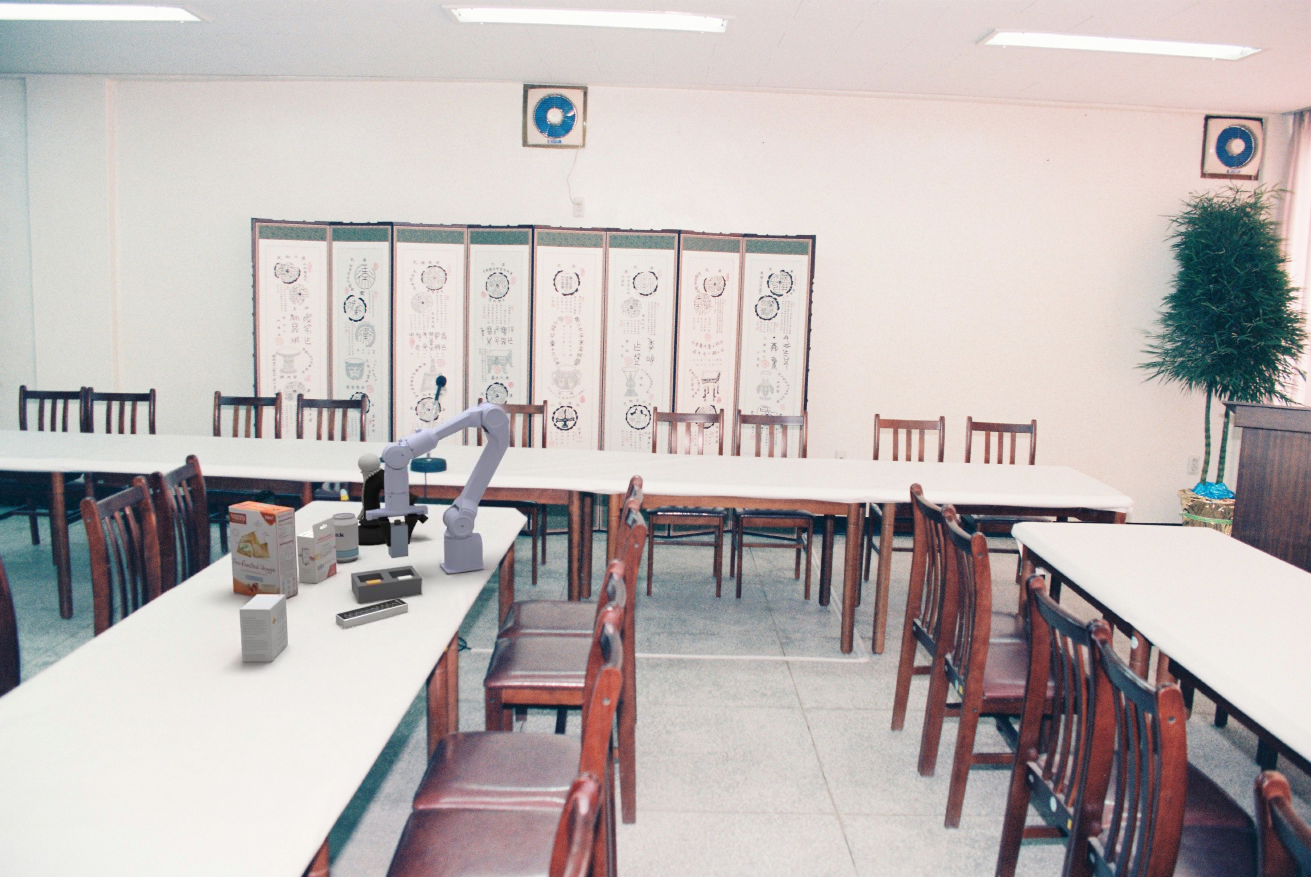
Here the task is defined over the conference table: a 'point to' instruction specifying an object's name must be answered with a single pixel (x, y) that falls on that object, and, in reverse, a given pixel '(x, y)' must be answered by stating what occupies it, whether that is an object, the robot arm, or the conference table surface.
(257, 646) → the small box
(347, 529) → the beverage can
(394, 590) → the port box
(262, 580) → the cracker box
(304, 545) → the ink cartridge box
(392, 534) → the plug
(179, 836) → the conference table surface
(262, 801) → the conference table surface
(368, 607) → the multiport hub
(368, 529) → the sculpture
